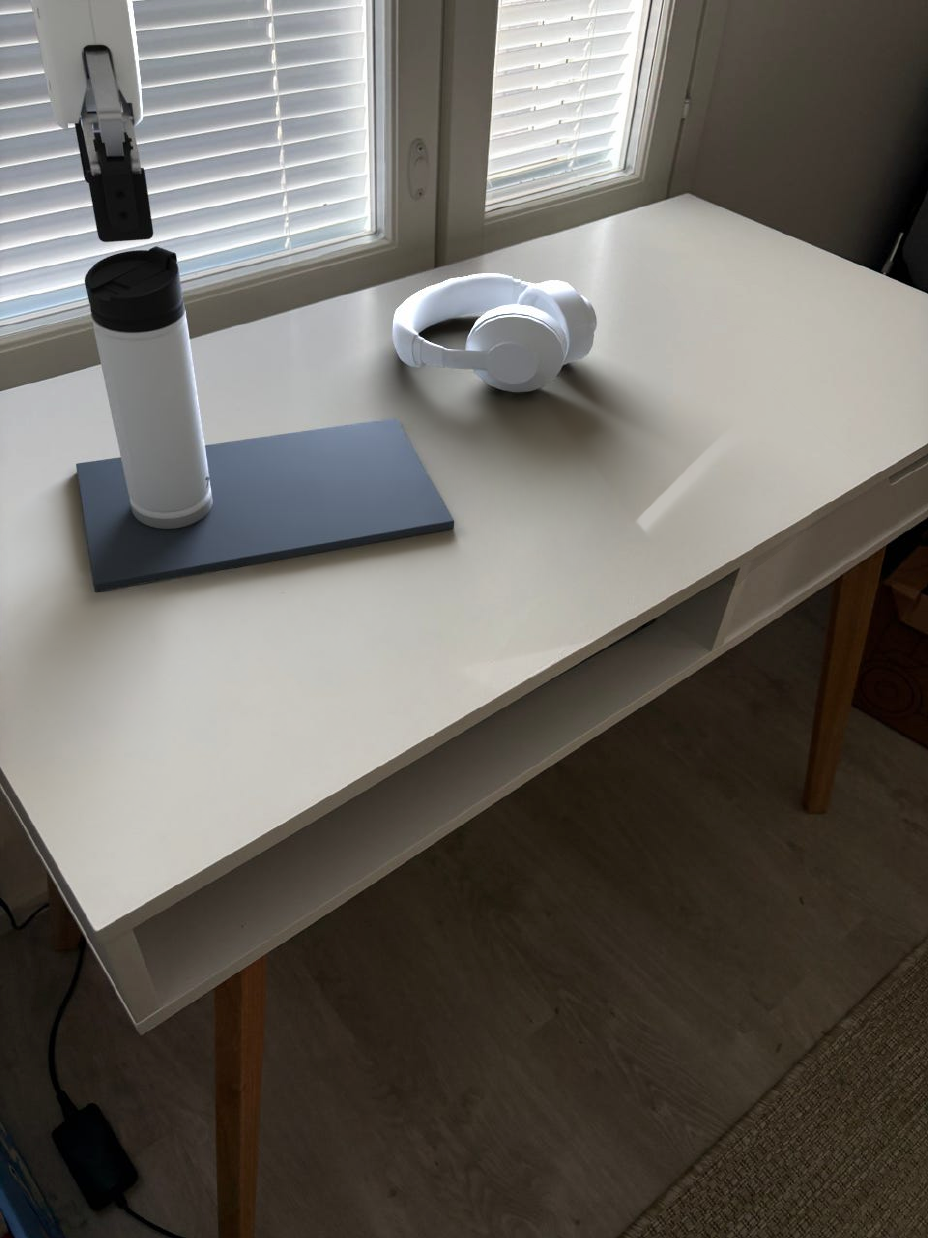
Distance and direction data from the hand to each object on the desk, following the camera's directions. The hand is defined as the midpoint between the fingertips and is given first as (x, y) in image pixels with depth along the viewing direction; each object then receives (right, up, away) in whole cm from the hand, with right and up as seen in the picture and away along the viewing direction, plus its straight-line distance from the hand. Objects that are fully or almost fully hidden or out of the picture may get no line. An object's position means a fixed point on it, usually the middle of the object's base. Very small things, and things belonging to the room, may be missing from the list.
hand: (118, 208), depth 64 cm
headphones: (+25, +1, +39) cm, 46 cm away
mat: (+6, -16, +19) cm, 26 cm away
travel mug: (-1, -17, +17) cm, 24 cm away
